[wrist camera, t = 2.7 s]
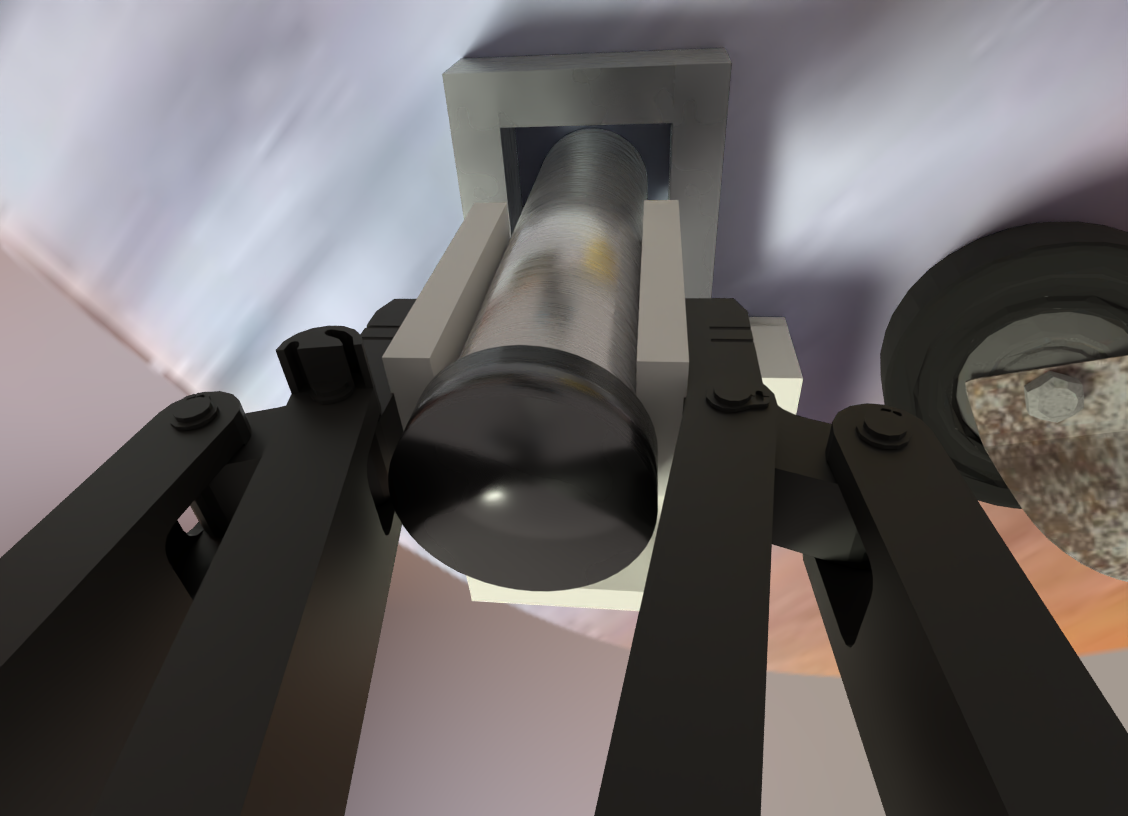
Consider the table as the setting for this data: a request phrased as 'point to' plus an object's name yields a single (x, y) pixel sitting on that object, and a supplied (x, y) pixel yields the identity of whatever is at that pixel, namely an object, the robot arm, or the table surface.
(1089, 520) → the caster wheel
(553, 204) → the pin
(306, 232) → the table surface
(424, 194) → the table surface
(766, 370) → the tray
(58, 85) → the table surface
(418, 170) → the table surface
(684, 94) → the pin socket
